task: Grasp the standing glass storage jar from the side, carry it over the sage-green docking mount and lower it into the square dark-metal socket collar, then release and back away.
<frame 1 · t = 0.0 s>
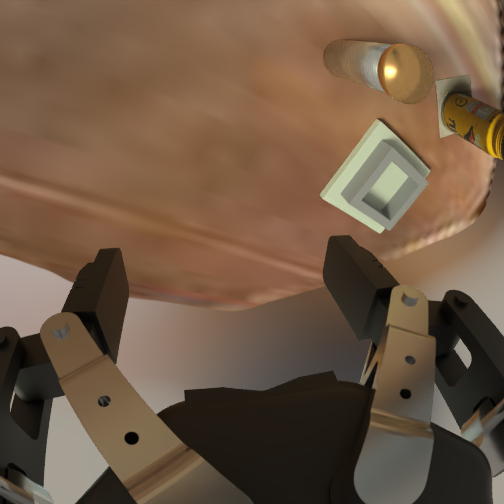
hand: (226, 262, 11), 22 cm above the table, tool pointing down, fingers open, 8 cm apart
dock: (378, 179, 37), on the table
condiment: (454, 105, 31), on the table
glass storage jar: (342, 58, 26), on the table
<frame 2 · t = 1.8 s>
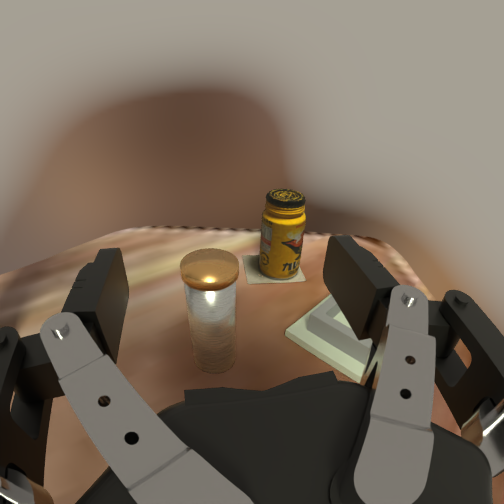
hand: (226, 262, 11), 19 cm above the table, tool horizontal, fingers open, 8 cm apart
dock: (353, 334, 34), on the table
condiment: (272, 270, 46), on the table
glass storage jar: (214, 357, 31), on the table
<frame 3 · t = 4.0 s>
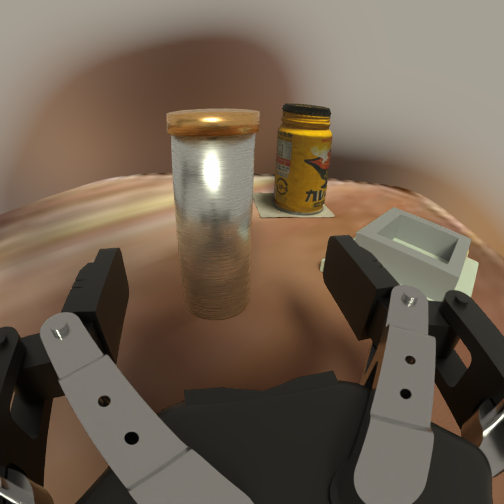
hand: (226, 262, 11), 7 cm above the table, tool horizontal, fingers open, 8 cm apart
dock: (410, 271, 24), on the table
condiment: (291, 207, 36), on the table
glass storage jar: (216, 297, 20), on the table
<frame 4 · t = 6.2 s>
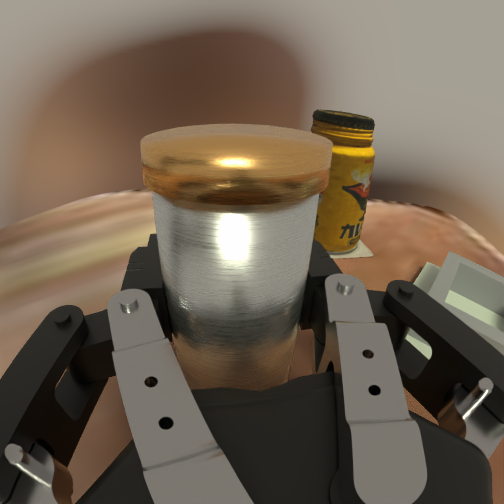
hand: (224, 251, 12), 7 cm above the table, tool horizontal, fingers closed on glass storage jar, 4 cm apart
dock: (469, 336, 17), on the table
condiment: (318, 241, 29), on the table
glass storage jar: (234, 404, 13), on the table, touching gripper
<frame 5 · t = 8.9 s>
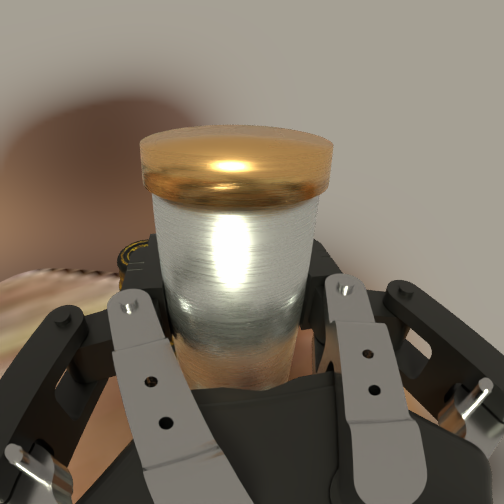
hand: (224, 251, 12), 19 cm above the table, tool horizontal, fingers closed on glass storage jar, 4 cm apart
condiment: (156, 345, 31), on the table
glass storage jar: (235, 405, 13), point 12 cm above the table, touching gripper
when the fingers open (9 cm above the table, at t = 11.5 s): glass storage jar drops 1 cm, resting on dock.
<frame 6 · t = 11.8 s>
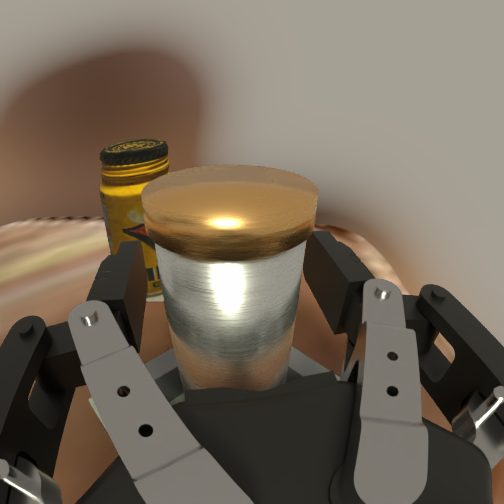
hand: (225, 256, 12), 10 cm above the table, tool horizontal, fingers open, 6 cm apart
dock: (235, 426, 15), on the table
condiment: (141, 279, 26), on the table
glass storage jar: (235, 419, 14), point 1 cm above the table, touching dock
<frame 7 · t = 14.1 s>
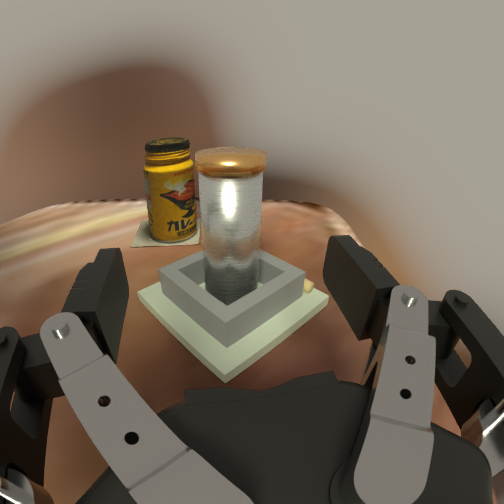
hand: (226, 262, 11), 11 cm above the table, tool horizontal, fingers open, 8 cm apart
dock: (231, 304, 26), on the table
condiment: (167, 234, 38), on the table
glass storage jar: (231, 296, 26), point 1 cm above the table, touching dock
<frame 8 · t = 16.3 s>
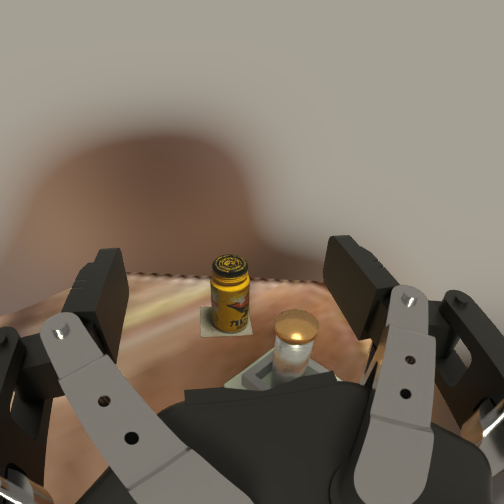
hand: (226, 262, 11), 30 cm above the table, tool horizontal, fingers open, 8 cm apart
dock: (285, 388, 39), on the table
condiment: (225, 322, 51), on the table
glass storage jar: (286, 385, 39), point 1 cm above the table, touching dock
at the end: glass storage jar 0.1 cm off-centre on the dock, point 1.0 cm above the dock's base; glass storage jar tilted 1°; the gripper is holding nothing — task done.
